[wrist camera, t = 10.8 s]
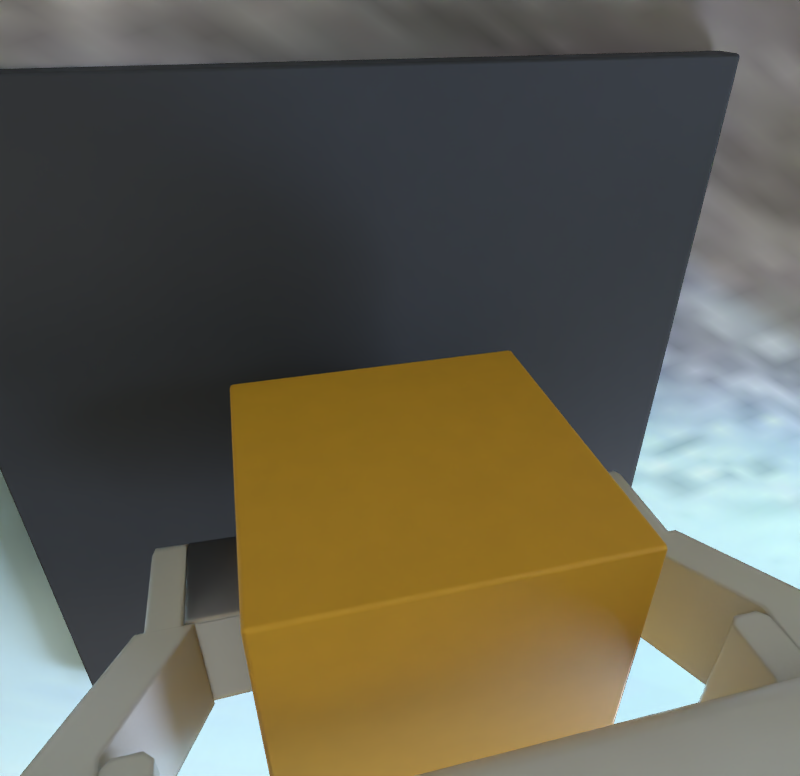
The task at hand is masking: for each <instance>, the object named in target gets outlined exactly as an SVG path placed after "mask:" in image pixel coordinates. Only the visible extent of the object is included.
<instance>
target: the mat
mask: <svg viewBox="0 0 800 776" xmlns="http://www.w3.org/2000/svg"><path fill="white" fill-rule="evenodd" d="M738 61H739V54H737V53H731V52H724V51H693V52H654V53H615V54H576V55H537V56H498V57H459V58H420V59H381V60H342V61H303V62H264V63H225V64H187V65H148V66H109V67H70V68H31V69H0V469H1V471H2V474H3V476H4V479H5V481H6V483H7V486H8V488H9V490H10V493H11V495H12V497H13V500H14V502H15V504H16V507H17V509H18V511H19V514H20V516H21V519H22V521H23V523H24V526H25V528H26V530H27V533H28V535H29V537H30V540H31V542H32V544H33V547H34V549H35V551H36V554H37V556H38V559H39V561H40V563H41V566H42V568H43V570H44V573H45V575H46V577H47V580H48V582H49V584H50V587H51V589H52V591H53V594H54V596H55V599H56V601H57V603H58V606H59V608H60V610H61V613H62V615H63V617H64V620H65V622H66V624H67V627H68V629H69V631H70V634H71V636H72V639H73V641H74V643H75V646H76V648H77V650H78V653H79V655H80V657H81V660H82V662H83V664H84V667H85V669H86V671H87V674H88V676H89V679H90V681H91V683H92V686H93V685H94V684H95V683H96V682H97V680H98V679H99V678H100V677H101V675H102V674H103V673H104V672H105V670H106V669H107V668H108V667H109V666H110V664H111V663H112V662H113V661H114V659H115V658H116V657H117V656H118V654H119V653H120V652H121V651H122V649H123V648H124V647H125V646H126V645H127V643H128V642H129V641H130V640H131V638H132V637H133V636H134V635H138V634H142V633H144V629H145V620H146V610H147V601H148V591H149V582H150V572H151V563H152V556H153V554H154V551H155V549H156V548H164V547H171V546H178V545H185V544H189V543H193V542H200V541H207V540H214V539H221V538H228V537H234V536H236V519H235V497H234V474H233V452H232V429H231V407H230V386H231V385H233V384H241V383H249V382H257V381H265V380H274V379H282V378H290V377H298V376H306V375H314V374H322V373H330V372H338V371H346V370H354V369H362V368H370V367H379V366H387V365H395V364H403V363H411V362H419V361H427V360H435V359H443V358H451V357H459V356H467V355H475V354H484V353H492V352H500V351H511V352H512V353H513V354H514V356H515V357H516V358H517V359H518V361H519V362H520V363H521V364H522V366H523V367H524V368H525V369H526V371H527V372H528V373H529V374H530V376H531V377H532V378H533V379H534V380H535V382H536V383H537V384H538V385H539V387H540V388H541V389H542V390H543V392H544V393H545V394H546V395H547V397H548V398H549V399H550V400H551V402H552V403H553V404H554V405H555V407H556V408H557V409H558V410H559V412H560V413H561V414H562V415H563V417H564V418H565V419H566V420H567V422H568V423H569V424H570V425H571V427H572V428H573V429H574V430H575V432H576V433H577V434H578V435H579V436H580V438H581V439H582V440H583V441H584V443H585V444H586V445H587V446H588V448H589V449H590V450H591V451H592V453H593V454H594V455H595V456H596V458H597V459H598V460H599V461H600V463H601V464H602V465H603V466H604V468H605V469H606V470H607V471H608V472H611V471H615V472H617V473H619V474H620V475H621V476H622V477H623V478H624V479H625V481H626V482H627V483H628V484H629V485H630V487H631V486H632V482H633V478H634V474H635V470H636V466H637V462H638V458H639V454H640V450H641V446H642V442H643V438H644V434H645V430H646V426H647V422H648V418H649V414H650V410H651V406H652V402H653V399H654V395H655V391H656V387H657V383H658V379H659V375H660V371H661V367H662V363H663V359H664V355H665V351H666V347H667V343H668V339H669V335H670V331H671V327H672V323H673V319H674V315H675V311H676V307H677V303H678V299H679V295H680V291H681V287H682V283H683V279H684V275H685V271H686V267H687V263H688V259H689V256H690V252H691V248H692V244H693V240H694V236H695V232H696V228H697V224H698V220H699V216H700V212H701V208H702V204H703V200H704V196H705V192H706V188H707V184H708V180H709V176H710V172H711V168H712V164H713V160H714V156H715V152H716V148H717V144H718V140H719V136H720V132H721V128H722V124H723V120H724V117H725V113H726V109H727V105H728V101H729V97H730V93H731V89H732V85H733V81H734V77H735V73H736V69H737V65H738Z"/></svg>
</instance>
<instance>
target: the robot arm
mask: <svg viewBox="0 0 800 776" xmlns="http://www.w3.org/2000/svg"><path fill="white" fill-rule="evenodd" d="M608 473H609V474H610V475H611V476H612V478H613V479H614V480H615V481H616V483H617V484H618V485H619V486H620V487H621V489H622V490H623V491H624V492H625V494H626V495H627V496H628V497H629V499H630V500H631V501H632V502H633V504H634V505H635V506H636V507H637V509H638V510H639V511H640V512H641V514H642V515H643V516H644V517H645V519H646V520H647V521H648V522H649V524H650V525H651V526H652V527H653V529H654V530H655V531H656V532H657V534H658V535H659V536H660V537H661V538H662V540H663V541H664V542H665V543H666V545H667V549H668V550H667V553H666V557H665V560H664V563H663V566H662V569H661V573H660V576H659V579H658V582H657V586H656V589H655V592H654V595H653V598H652V602H651V605H650V608H649V611H648V615H647V618H646V621H645V624H644V627H643V631H642V634H641V638H643V639H644V640H646V641H647V642H648V643H650V644H651V645H652V646H654V647H655V648H656V649H658V650H659V651H660V652H662V653H663V654H665V655H666V656H667V657H669V658H670V659H671V660H673V661H674V662H675V663H677V664H678V665H679V666H681V667H682V668H684V669H685V670H686V671H688V672H689V673H690V674H692V675H693V676H694V677H696V678H697V679H698V680H700V681H701V682H703V683H704V684H705V688H704V690H703V692H702V695H701V697H700V700H699V702H698V703H695V704H691V705H687V706H683V707H679V708H676V709H672V710H668V711H664V712H660V713H656V714H652V715H648V716H644V717H641V718H637V719H633V720H629V721H625V722H621V723H617V724H613V725H610V726H606V727H602V728H598V729H594V730H590V731H586V732H582V733H578V734H575V735H571V736H567V737H563V738H559V739H555V740H551V741H547V742H543V743H540V744H536V745H532V746H528V747H524V748H520V749H516V750H512V751H509V752H505V753H501V754H497V755H493V756H489V757H485V758H481V759H477V760H474V761H470V762H466V763H462V764H458V765H454V766H450V767H446V768H442V769H439V770H435V771H431V772H427V773H423V774H419V775H415V776H800V590H799V589H797V588H795V587H793V586H791V585H789V584H787V583H785V582H783V581H780V580H778V579H776V578H774V577H772V576H770V575H768V574H766V573H764V572H762V571H760V570H758V569H755V568H753V567H751V566H749V565H747V564H745V563H743V562H741V561H739V560H737V559H735V558H733V557H730V556H728V555H726V554H724V553H722V552H720V551H718V550H716V549H714V548H712V547H710V546H707V545H705V544H703V543H701V542H699V541H697V540H695V539H693V538H691V537H689V536H687V535H685V534H682V533H680V532H678V531H676V530H674V531H667V530H666V528H665V527H664V526H663V525H662V524H661V522H660V521H659V520H658V519H657V518H656V516H655V515H654V514H653V513H652V512H651V510H650V509H649V508H648V507H647V506H646V505H645V503H644V502H643V501H642V500H641V499H640V497H639V496H638V495H637V494H636V493H635V491H634V490H633V489H632V488H631V487H630V485H629V484H628V483H627V482H626V481H625V479H624V478H623V477H622V476H621V475H620V474H619V473H617V472H615V471H611V472H608ZM250 691H252V686H251V681H250V676H249V671H248V666H247V661H246V656H245V651H244V646H243V642H242V637H241V631H240V609H239V586H238V564H237V542H236V536H234V537H228V538H221V539H214V540H207V541H200V542H193V543H189V544H185V545H178V546H171V547H164V548H156V549H155V551H154V554H153V556H152V563H151V572H150V582H149V591H148V601H147V610H146V620H145V629H144V633H142V634H138V635H134V636H133V637H132V638H131V640H130V641H129V642H128V643H127V645H126V646H125V647H124V648H123V649H122V651H121V652H120V653H119V654H118V656H117V657H116V658H115V659H114V661H113V662H112V663H111V664H110V666H109V667H108V668H107V669H106V670H105V672H104V673H103V674H102V675H101V677H100V678H99V679H98V680H97V682H96V683H95V684H94V685H93V686H92V688H91V689H90V690H89V691H88V693H87V694H86V695H85V696H84V698H83V699H82V700H81V701H80V702H79V704H78V705H77V706H76V707H75V709H74V710H73V711H72V712H71V714H70V715H69V716H68V717H67V718H66V720H65V721H64V722H63V723H62V725H61V726H60V727H59V728H58V730H57V731H56V732H55V733H54V734H53V736H52V737H51V738H50V739H49V741H48V742H47V743H46V744H45V746H44V747H43V748H42V749H41V750H40V752H39V753H38V754H37V755H36V757H35V758H34V759H33V760H32V762H31V763H30V764H29V765H28V767H27V768H26V769H25V770H24V771H23V773H22V774H21V775H20V776H177V774H178V772H179V770H180V769H181V767H182V765H183V763H184V761H185V759H186V757H187V755H188V753H189V751H190V750H191V748H192V746H193V744H194V742H195V740H196V738H197V736H198V734H199V732H200V731H201V729H202V727H203V725H204V723H205V721H206V719H207V717H208V715H209V713H210V712H211V710H212V708H213V706H214V704H215V703H214V700H217V699H222V698H226V697H230V696H234V695H238V694H242V693H246V692H250Z"/></svg>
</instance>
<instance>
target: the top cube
mask: <svg viewBox="0 0 800 776" xmlns="http://www.w3.org/2000/svg"><path fill="white" fill-rule="evenodd" d="M230 407H231V429H232V452H233V474H234V497H235V519H236V542H237V564H238V586H239V609H240V631H241V637H242V642H243V646H244V651H245V656H246V661H247V666H248V671H249V676H250V681H251V686H252V691H253V695H254V700H255V705H256V710H257V715H258V720H259V725H260V730H261V735H262V739H263V744H264V749H265V754H266V759H267V764H268V769H269V774H270V776H415V775H419V774H423V773H427V772H431V771H435V770H439V769H442V768H446V767H450V766H454V765H458V764H462V763H466V762H470V761H474V760H477V759H481V758H485V757H489V756H493V755H497V754H501V753H505V752H509V751H512V750H516V749H520V748H524V747H528V746H532V745H536V744H540V743H543V742H547V741H551V740H555V739H559V738H563V737H567V736H571V735H575V734H578V733H582V732H586V731H590V730H594V729H598V728H602V727H606V726H610V725H613V724H614V721H615V718H616V714H617V711H618V708H619V705H620V701H621V698H622V695H623V692H624V689H625V685H626V682H627V679H628V676H629V673H630V669H631V666H632V663H633V660H634V656H635V653H636V650H637V647H638V644H639V640H640V637H641V634H642V631H643V627H644V624H645V621H646V618H647V615H648V611H649V608H650V605H651V602H652V598H653V595H654V592H655V589H656V586H657V582H658V579H659V576H660V573H661V569H662V566H663V563H664V560H665V557H666V553H667V550H668V549H667V545H666V543H665V542H664V541H663V540H662V538H661V537H660V536H659V535H658V534H657V532H656V531H655V530H654V529H653V527H652V526H651V525H650V524H649V522H648V521H647V520H646V519H645V517H644V516H643V515H642V514H641V512H640V511H639V510H638V509H637V507H636V506H635V505H634V504H633V502H632V501H631V500H630V499H629V497H628V496H627V495H626V494H625V492H624V491H623V490H622V489H621V487H620V486H619V485H618V484H617V483H616V481H615V480H614V479H613V478H612V476H611V475H610V474H609V473H608V471H607V470H606V469H605V468H604V466H603V465H602V464H601V463H600V461H599V460H598V459H597V458H596V456H595V455H594V454H593V453H592V451H591V450H590V449H589V448H588V446H587V445H586V444H585V443H584V441H583V440H582V439H581V438H580V436H579V435H578V434H577V433H576V432H575V430H574V429H573V428H572V427H571V425H570V424H569V423H568V422H567V420H566V419H565V418H564V417H563V415H562V414H561V413H560V412H559V410H558V409H557V408H556V407H555V405H554V404H553V403H552V402H551V400H550V399H549V398H548V397H547V395H546V394H545V393H544V392H543V390H542V389H541V388H540V387H539V385H538V384H537V383H536V382H535V380H534V379H533V378H532V377H531V376H530V374H529V373H528V372H527V371H526V369H525V368H524V367H523V366H522V364H521V363H520V362H519V361H518V359H517V358H516V357H515V356H514V354H513V353H512V352H511V351H500V352H492V353H484V354H475V355H467V356H459V357H451V358H443V359H435V360H427V361H419V362H411V363H403V364H395V365H387V366H379V367H370V368H362V369H354V370H346V371H338V372H330V373H322V374H314V375H306V376H298V377H290V378H282V379H274V380H265V381H257V382H249V383H241V384H233V385H231V386H230Z"/></svg>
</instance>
